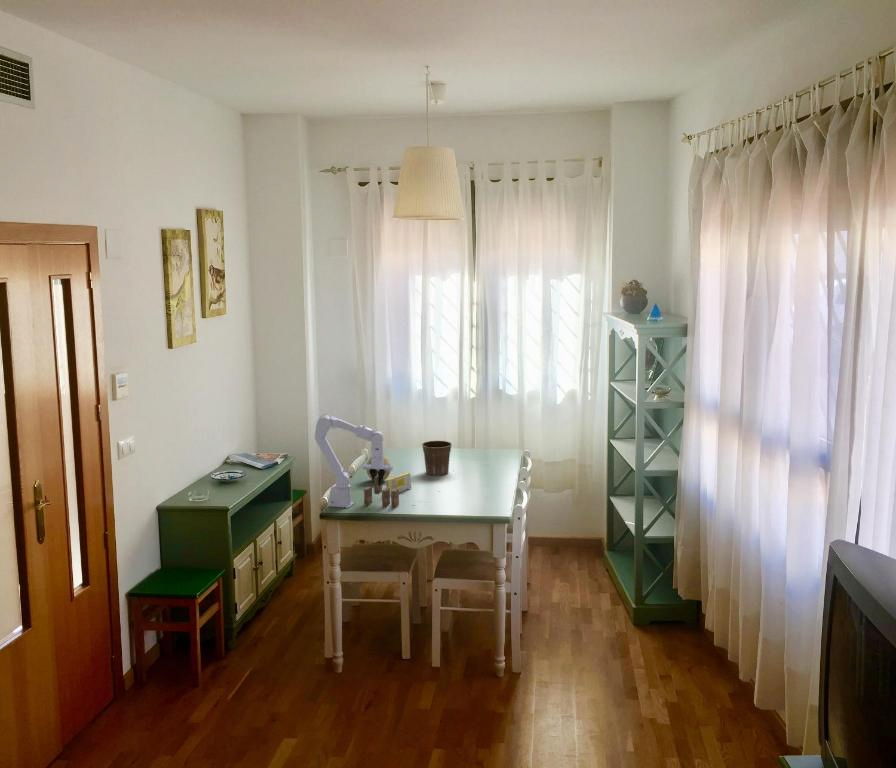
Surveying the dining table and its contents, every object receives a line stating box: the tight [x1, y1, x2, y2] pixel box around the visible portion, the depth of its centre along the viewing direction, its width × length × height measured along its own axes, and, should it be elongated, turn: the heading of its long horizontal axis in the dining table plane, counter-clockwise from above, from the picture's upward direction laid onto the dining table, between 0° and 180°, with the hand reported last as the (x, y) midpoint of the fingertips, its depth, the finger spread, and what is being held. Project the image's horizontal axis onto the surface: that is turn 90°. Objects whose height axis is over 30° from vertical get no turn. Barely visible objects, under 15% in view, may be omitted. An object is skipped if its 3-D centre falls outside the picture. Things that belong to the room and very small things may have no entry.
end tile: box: [363, 486, 373, 507], centre depth 408 cm, size 2×5×8 cm, turn 164°
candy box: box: [385, 472, 412, 496], centre depth 429 cm, size 16×2×8 cm, turn 141°
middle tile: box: [381, 487, 391, 508], centre depth 406 cm, size 2×5×8 cm, turn 164°
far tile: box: [390, 488, 400, 509], centre depth 404 cm, size 2×5×8 cm, turn 164°
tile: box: [373, 475, 383, 495], centre depth 408 cm, size 2×5×8 cm, turn 163°
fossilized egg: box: [365, 454, 391, 482], centre depth 449 cm, size 13×13×15 cm
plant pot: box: [421, 440, 453, 477], centre depth 464 cm, size 16×16×16 cm
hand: (378, 484), depth 408 cm, fingers closed on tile, 2 cm apart
